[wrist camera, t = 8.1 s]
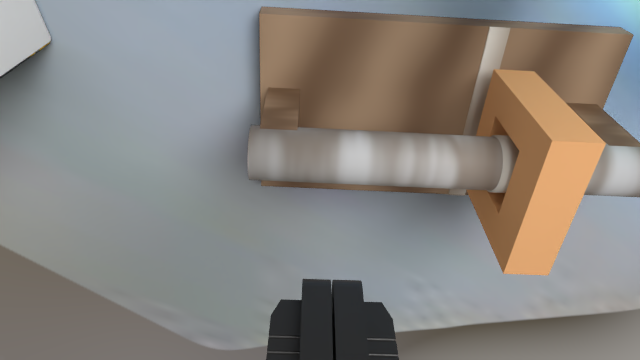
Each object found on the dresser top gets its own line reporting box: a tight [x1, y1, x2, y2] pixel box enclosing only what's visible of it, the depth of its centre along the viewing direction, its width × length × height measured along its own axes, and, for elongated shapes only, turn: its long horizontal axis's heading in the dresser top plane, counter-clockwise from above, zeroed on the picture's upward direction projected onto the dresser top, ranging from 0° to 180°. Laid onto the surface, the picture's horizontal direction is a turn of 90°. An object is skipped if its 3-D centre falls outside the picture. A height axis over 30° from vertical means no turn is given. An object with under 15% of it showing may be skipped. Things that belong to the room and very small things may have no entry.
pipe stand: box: [247, 7, 640, 197], centre depth 29 cm, size 22×12×9 cm, turn 87°
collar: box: [466, 69, 606, 275], centre depth 27 cm, size 2×8×8 cm, turn 177°
